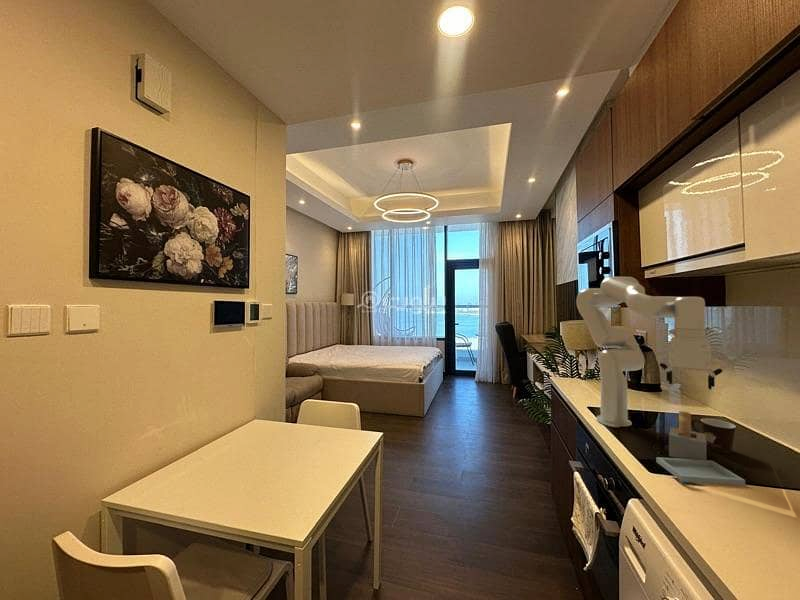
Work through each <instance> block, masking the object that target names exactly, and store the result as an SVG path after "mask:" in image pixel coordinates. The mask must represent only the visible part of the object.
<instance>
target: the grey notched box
mask: <svg viewBox="0 0 800 600" xmlns="http://www.w3.org/2000/svg"><path fill="white" fill-rule="evenodd" d="M698 432H699V431H698ZM698 432H696V431H692V430H691V437H687V436H682V435H679V427H674V426H670V428H669V432H668V457H670V458H677V459H693V460H707V443H706V434H703V432H700V433H698Z"/></svg>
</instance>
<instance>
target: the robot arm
mask: <svg viewBox="0 0 800 600" xmlns="http://www.w3.org/2000/svg"><path fill="white" fill-rule="evenodd" d="M575 301H576V308H577V310H578V312H579V314H580V315H581V317H582V319H583V320H584V323H585V324H586V327H587V328H588V331H589V332H588V333H590V336H591V338H592V341H593V342H594V344H595V346H597V347H598V348H604V349H603V350H602V351H600V352H599V354H598V356H597V359H598V360H597V361H598V366H599V371H600V408H599V412H600V414H599V415H597V416H596V421H597V422H598V423H600V424H602V425H604V426H607V427H611V428H616V429H617V428H618V429H619V428H620V427H629V426H632V424H633V423H632V421H631V420H629V419H628V380H627V378H626V376H625V375H624V373H623V372H630V371H631V372H633V371H639V370H642V369H643V368H644V366H645V363H646V362H645V361H646V360H645V357H644V356H645V355H644V354H643V352H642V349H641V348H640V346H639V344H638V342H637V339H636V337H635V336H634V334H633V333H632V331H631V330H630V329H629V328H627V327H625V326H622V325H619V326H618V325H616V326H614V325H611V324H610V322H609V321H608V318H607V316H606V315H605V314H604V313H603V312H602V311H601V310H600V309H599V307H600V308H601V307H605V308H606V307H609V308H610V307H615V306H618V305H619V304H620V305H621V304H622V303H625V305H626V307H627V308H628V309H629V310H630V311H632V312H634V313H636V314H638V315H641V316H644V317H647V318H652V319H654V318H655V319H656V318H658V319H659V318H668V319H669V318H671V319H674V328H672V329H669V330H668V334H670V335H671V334H672V335H673V336H672V337H671V339H670V342H669V343H670V344H669V353H666V354H663V355H659V356H657V357H655V360H656V361H657V363H658V365H659V367H661V368H662V369H663V370H664V371H665V372H666V382H667V381H668V384H669V385H672V384H673V371H672V370H673V369H674V368H675V369H676V368H677V369H682V370H683V369H684V370H685V369H686V370H693V371H704V372H706V373H707V374H708V375H707V376H708V377H707V378H708V379H707V383H708V384H707V388H708V389H709V390H712V387H713V388H714V387H715V377H717V376H718V375H720V374H721V373H723V371H724V370H725V369H727V366H728V365H727V363H726V362H724V361H722V360H720V359H717V358H714V357H713V356H712V353H711V345H710V341H709V339H708V338H706V302H705V301H706V300H705V298H703V297H701V296H672V295H671V296H669V295H668V296H666V295H665V296H662V295H661V296H657V295H656V296H654V295H648V294H646V289H645V287H644V286H643V285H642V284H640V282H639V281H638V279H636V278H634V277H633V276H608V277H606V278H604V279H603V280H602V281H601V282H600V288H599V287H595V288H594V287H591V288H590V287H589V288H586V289H582V290H581V291H579V292H578V294H577V296H576V300H575ZM666 359H669V361H668V362H669V363H668V364H669V365H666V363H664V361H663V360H666ZM712 363H713V364H716V365H718V367H717V368H716V369H714V370H712Z"/></svg>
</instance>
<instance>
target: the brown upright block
mask: <svg viewBox="0 0 800 600" xmlns="http://www.w3.org/2000/svg"><path fill="white" fill-rule="evenodd" d="M691 423H692V413H691V412H689V411H681V410H680V411H678V429H679V435H682V436H687V437H691V431H692V424H691Z"/></svg>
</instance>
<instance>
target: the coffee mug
mask: <svg viewBox="0 0 800 600" xmlns="http://www.w3.org/2000/svg"><path fill="white" fill-rule="evenodd" d="M695 422H698V423H699V424H700V425H701V430H702V432H699V430H698V429H697V428H696V427H695ZM691 428H693V430H694V432H698V433H703V434H706V443H707V448H706V450H710V451H711V452H714V453H720V454H730V455H731V453H732V451H733V445H734V439H735V434H736V433H735V432H736V425H735V424H733V423H731V422H727V421H725V420H720V419H714V418H701V419H700V420H698V419H694V420H691Z"/></svg>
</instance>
